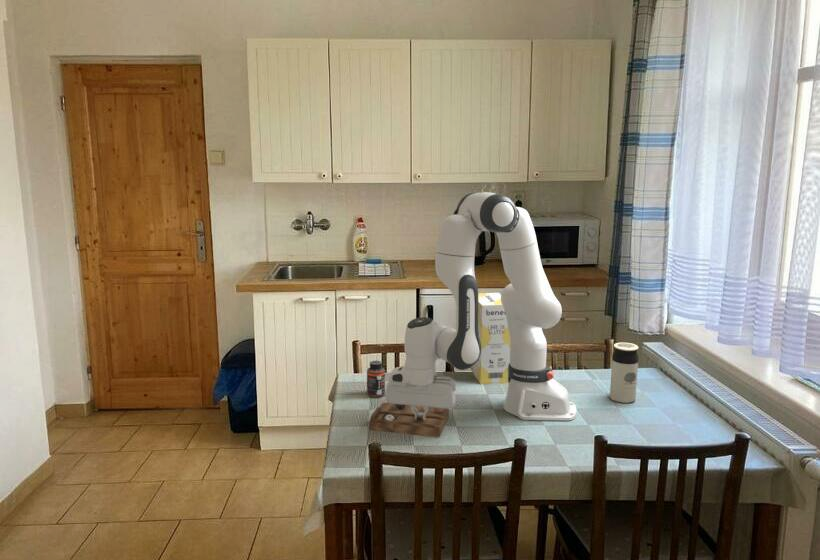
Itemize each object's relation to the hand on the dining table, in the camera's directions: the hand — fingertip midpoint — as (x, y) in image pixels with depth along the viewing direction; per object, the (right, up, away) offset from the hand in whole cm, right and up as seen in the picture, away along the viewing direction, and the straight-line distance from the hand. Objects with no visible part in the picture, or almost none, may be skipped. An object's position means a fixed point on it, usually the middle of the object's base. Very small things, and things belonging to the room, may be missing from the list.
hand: (420, 419), depth 190 cm
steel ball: (-9, -3, +3) cm, 10 cm away
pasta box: (+25, +6, +45) cm, 52 cm away
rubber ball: (-6, +1, +9) cm, 11 cm away
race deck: (-3, -2, +5) cm, 6 cm away
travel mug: (+66, +2, +23) cm, 70 cm away
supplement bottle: (-14, +2, +26) cm, 30 cm away
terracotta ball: (+6, +1, +6) cm, 8 cm away
